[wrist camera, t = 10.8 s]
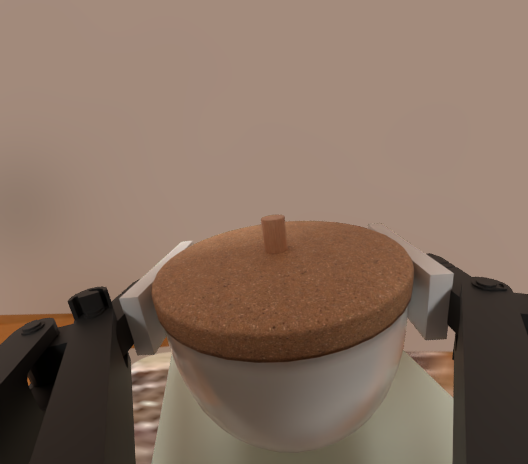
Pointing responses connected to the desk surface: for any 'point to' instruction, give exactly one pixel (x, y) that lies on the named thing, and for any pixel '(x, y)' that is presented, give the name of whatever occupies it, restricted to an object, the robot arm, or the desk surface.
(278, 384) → the lidded jar
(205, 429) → the sage box
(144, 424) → the desk surface
